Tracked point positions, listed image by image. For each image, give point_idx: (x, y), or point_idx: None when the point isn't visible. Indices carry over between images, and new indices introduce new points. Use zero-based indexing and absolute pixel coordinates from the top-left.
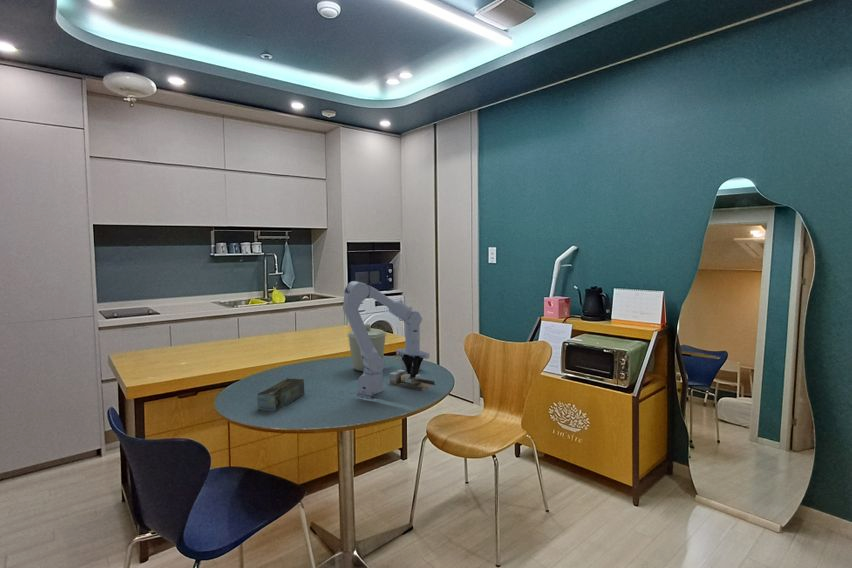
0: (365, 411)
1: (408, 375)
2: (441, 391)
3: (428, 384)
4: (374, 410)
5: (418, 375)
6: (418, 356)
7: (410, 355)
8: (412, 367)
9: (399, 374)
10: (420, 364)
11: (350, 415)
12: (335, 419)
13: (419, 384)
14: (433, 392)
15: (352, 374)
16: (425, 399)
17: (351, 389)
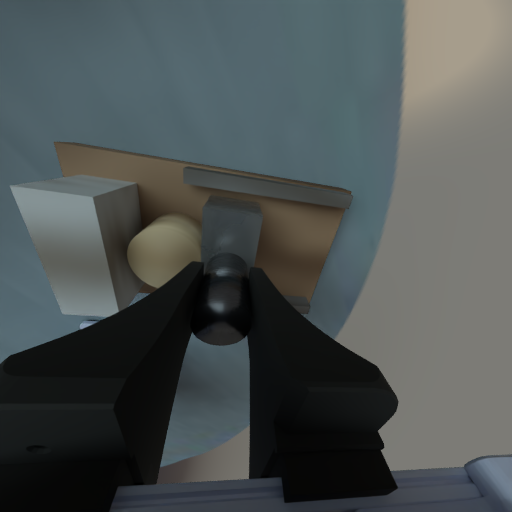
0: (211, 417)
1: (179, 251)
2: (376, 231)
3: (312, 218)
4: (226, 409)
5: (255, 243)
6: (341, 510)
7: (158, 506)
8: (232, 340)
9: (118, 275)
10: (300, 315)
11: (197, 433)
12: (185, 447)
13: (264, 236)
14: (341, 256)
15: None
16: (327, 324)
17: (11, 342)
